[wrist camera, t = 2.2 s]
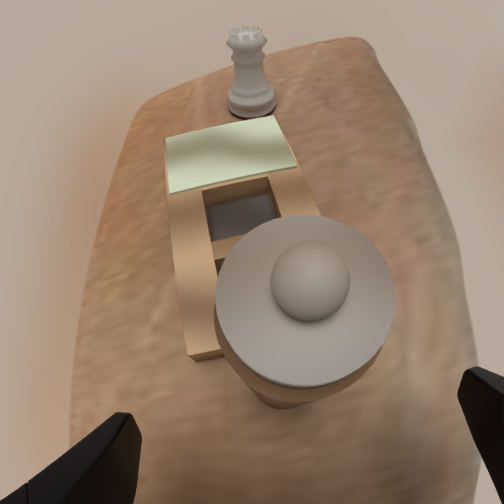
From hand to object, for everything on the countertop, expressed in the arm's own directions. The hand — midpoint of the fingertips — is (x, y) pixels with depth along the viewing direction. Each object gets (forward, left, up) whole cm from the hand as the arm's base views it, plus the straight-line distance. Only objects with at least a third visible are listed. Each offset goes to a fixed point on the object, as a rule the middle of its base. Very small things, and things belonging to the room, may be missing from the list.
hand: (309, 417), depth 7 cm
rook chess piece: (+25, -4, -10) cm, 27 cm away
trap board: (+12, 0, -10) cm, 16 cm away
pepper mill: (+2, 0, -10) cm, 10 cm away
